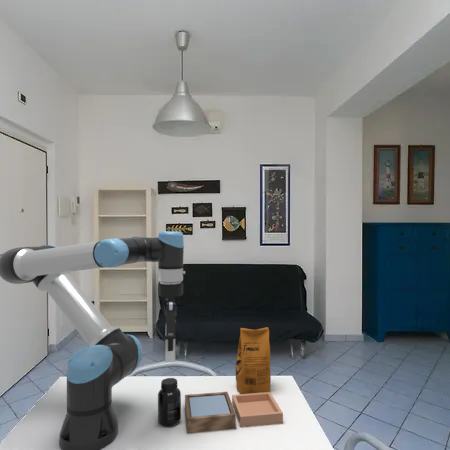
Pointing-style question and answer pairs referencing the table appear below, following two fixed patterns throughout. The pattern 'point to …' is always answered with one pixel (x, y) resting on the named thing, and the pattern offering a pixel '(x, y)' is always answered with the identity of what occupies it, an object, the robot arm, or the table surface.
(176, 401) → the supplement bottle
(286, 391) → the table surface
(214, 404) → the pad
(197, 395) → the wooden frame
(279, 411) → the tray
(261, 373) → the coffee package
